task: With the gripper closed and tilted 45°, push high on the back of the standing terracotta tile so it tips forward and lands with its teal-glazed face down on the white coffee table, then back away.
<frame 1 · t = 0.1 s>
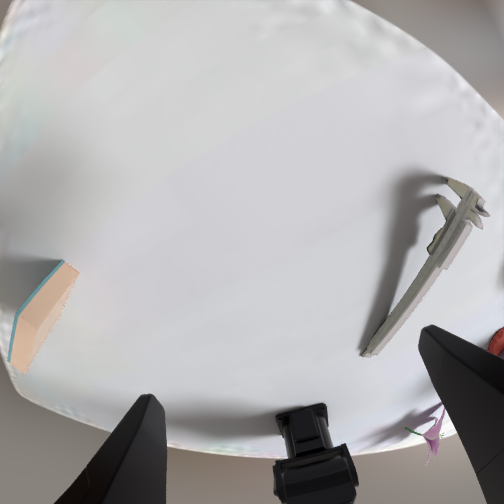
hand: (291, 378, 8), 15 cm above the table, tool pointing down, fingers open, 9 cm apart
lily: (424, 417, 40), on the table
stacking bear: (497, 348, 34), on the table
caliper: (405, 275, 25), on the table
tile: (59, 291, 23), on the table
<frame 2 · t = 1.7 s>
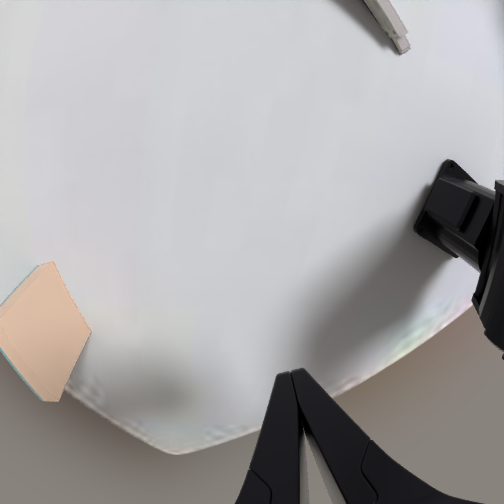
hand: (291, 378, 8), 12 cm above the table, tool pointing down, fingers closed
tile: (63, 299, 20), on the table
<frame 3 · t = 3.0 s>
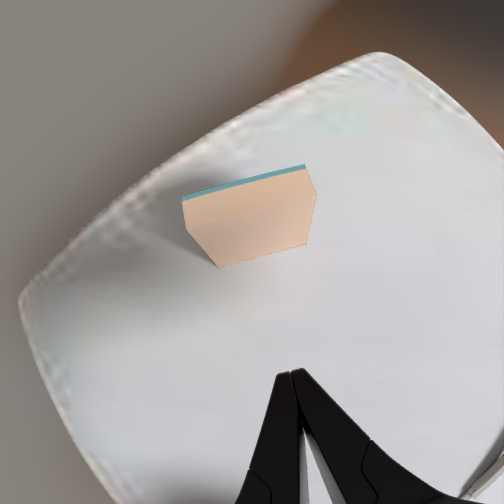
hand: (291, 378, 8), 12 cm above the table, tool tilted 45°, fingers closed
tile: (259, 244, 23), on the table
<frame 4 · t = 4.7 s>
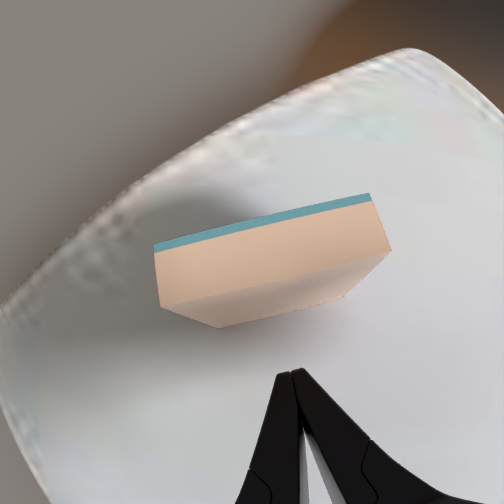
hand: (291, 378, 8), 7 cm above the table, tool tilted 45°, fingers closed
tile: (276, 296, 16), on the table
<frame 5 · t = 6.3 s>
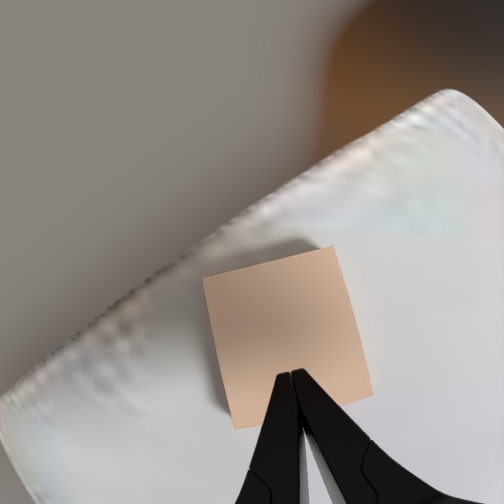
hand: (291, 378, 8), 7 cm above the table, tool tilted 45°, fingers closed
tile: (303, 411, 13), on the table, tilted 90°
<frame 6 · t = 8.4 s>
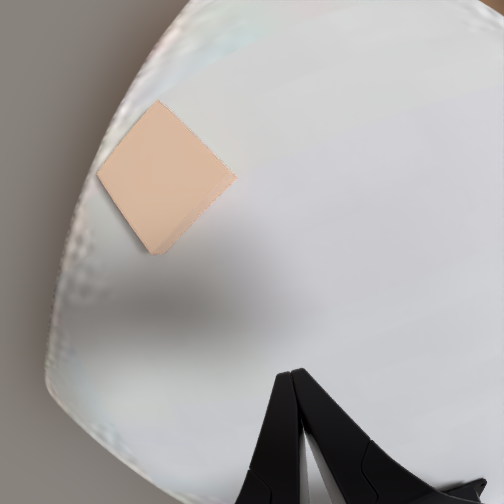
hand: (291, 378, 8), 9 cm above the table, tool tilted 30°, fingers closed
tile: (195, 216, 18), on the table, tilted 90°
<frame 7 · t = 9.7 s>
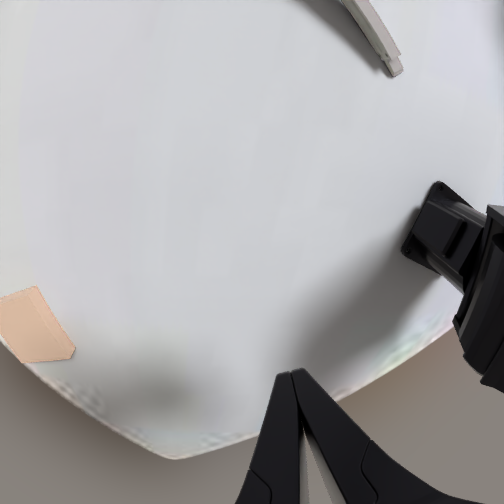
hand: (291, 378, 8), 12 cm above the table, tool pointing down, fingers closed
tile: (53, 322, 20), point 1 cm above the table, tilted 90°
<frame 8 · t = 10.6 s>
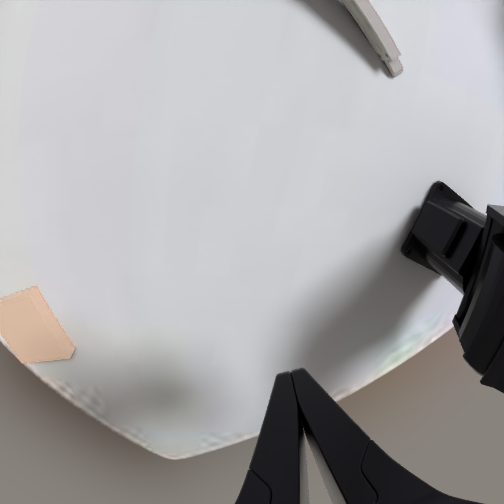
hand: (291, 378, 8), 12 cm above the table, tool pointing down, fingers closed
tile: (53, 321, 20), on the table, tilted 90°
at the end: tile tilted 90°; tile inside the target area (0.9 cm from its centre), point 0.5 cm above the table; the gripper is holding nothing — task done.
